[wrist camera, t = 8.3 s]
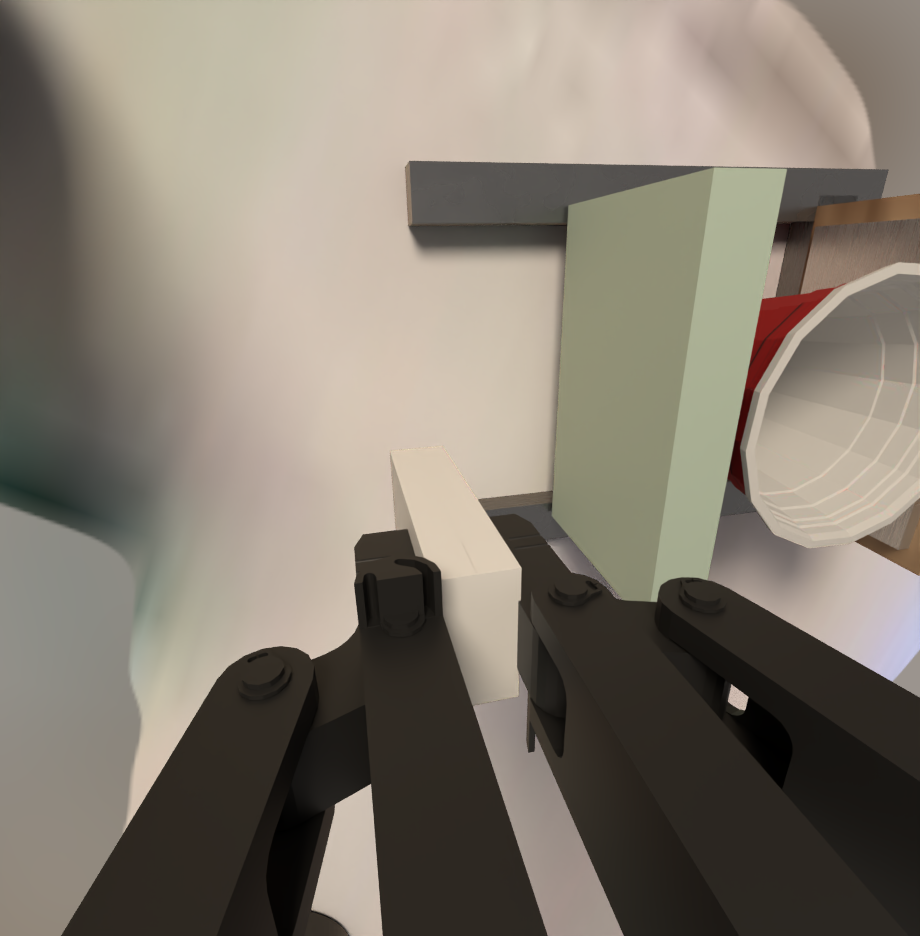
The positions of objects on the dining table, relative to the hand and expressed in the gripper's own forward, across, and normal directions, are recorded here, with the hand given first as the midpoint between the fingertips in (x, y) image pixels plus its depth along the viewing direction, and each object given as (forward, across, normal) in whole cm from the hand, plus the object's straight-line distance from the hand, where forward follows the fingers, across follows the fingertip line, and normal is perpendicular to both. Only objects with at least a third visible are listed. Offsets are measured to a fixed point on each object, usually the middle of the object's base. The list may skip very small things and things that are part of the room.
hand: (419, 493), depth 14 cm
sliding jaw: (+11, -11, -1) cm, 15 cm away
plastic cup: (+13, -16, -1) cm, 20 cm away
